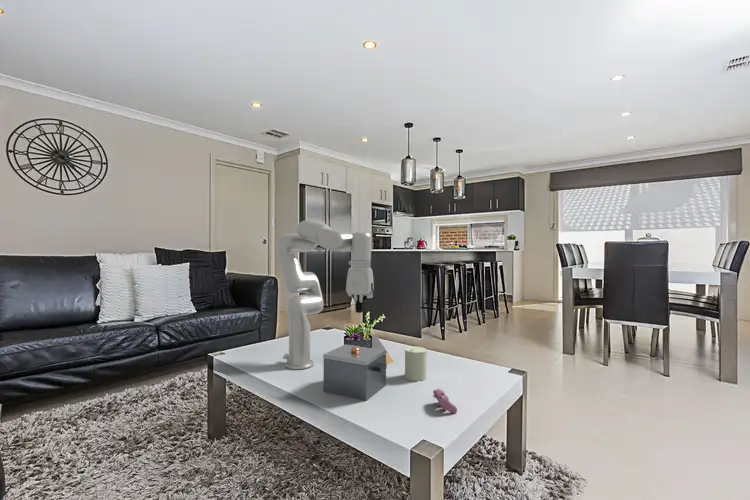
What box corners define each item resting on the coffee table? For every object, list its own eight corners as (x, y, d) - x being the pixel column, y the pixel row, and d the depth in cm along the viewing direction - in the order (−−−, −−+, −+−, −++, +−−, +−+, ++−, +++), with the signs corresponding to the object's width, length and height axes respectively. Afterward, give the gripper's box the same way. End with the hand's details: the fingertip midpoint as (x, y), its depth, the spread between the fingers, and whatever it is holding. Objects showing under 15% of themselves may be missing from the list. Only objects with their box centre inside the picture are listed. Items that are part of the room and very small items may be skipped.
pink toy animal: (437, 406, 125) (428, 388, 124) (448, 399, 125) (440, 382, 125) (446, 419, 115) (437, 400, 115) (459, 412, 116) (449, 393, 115)
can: (399, 377, 148) (400, 348, 148) (413, 371, 155) (413, 344, 155) (418, 383, 142) (418, 352, 142) (431, 377, 149) (431, 348, 149)
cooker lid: (323, 358, 133) (323, 350, 133) (345, 348, 148) (345, 340, 148) (366, 365, 125) (366, 356, 125) (385, 354, 139) (385, 346, 139)
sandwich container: (383, 366, 163) (384, 333, 163) (358, 359, 172) (358, 328, 172) (394, 361, 170) (395, 330, 170) (369, 355, 179) (369, 325, 179)
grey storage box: (323, 391, 133) (323, 359, 133) (346, 377, 147) (346, 348, 147) (373, 402, 124) (373, 367, 124) (392, 386, 138) (392, 355, 138)
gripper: (339, 264, 139) (338, 311, 139) (373, 266, 132) (372, 316, 132) (349, 263, 146) (348, 308, 146) (382, 265, 139) (381, 312, 139)
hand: (359, 312), depth 139 cm, fingers closed
